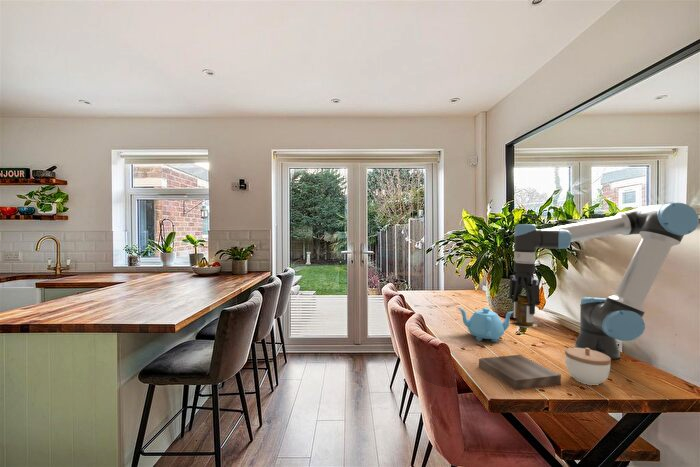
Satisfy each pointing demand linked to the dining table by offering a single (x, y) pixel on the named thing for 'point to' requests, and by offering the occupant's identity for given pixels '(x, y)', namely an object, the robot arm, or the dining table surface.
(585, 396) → the dining table surface
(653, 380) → the dining table surface
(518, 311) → the condiment
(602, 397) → the dining table surface
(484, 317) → the teapot
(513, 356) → the grey flat square piece
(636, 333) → the robot arm
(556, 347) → the dining table surface
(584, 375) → the lidded bowl
